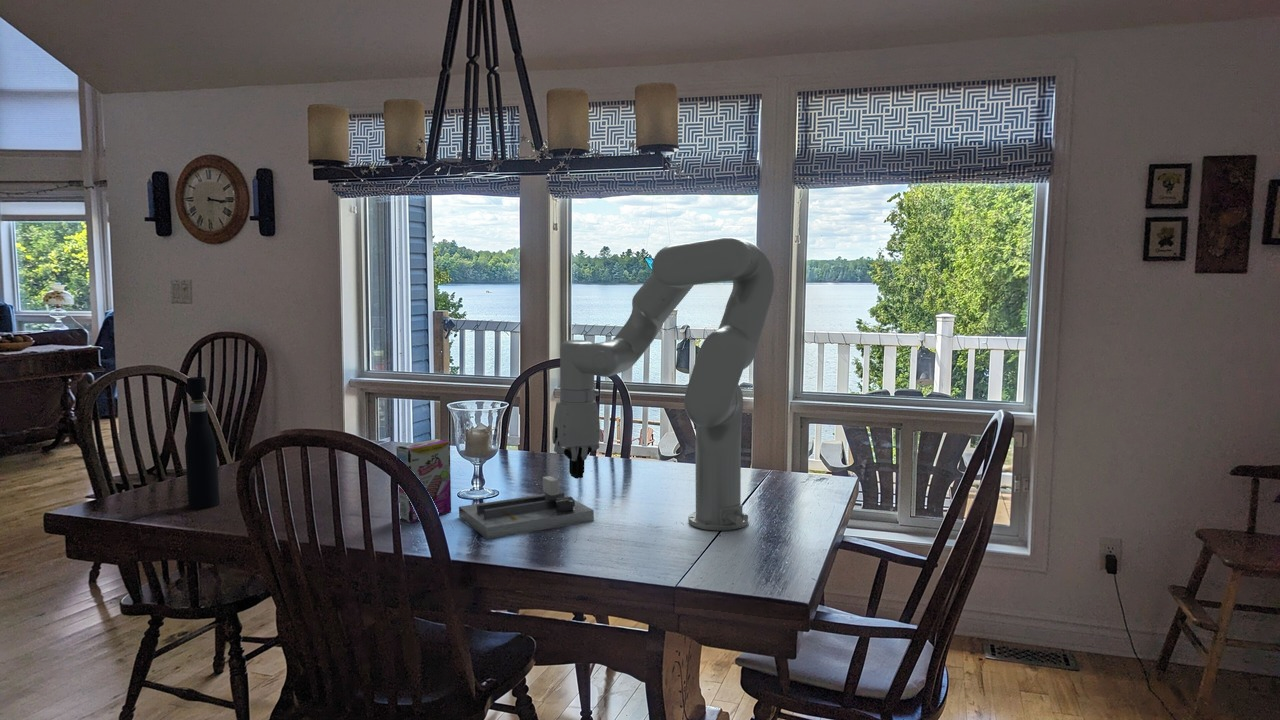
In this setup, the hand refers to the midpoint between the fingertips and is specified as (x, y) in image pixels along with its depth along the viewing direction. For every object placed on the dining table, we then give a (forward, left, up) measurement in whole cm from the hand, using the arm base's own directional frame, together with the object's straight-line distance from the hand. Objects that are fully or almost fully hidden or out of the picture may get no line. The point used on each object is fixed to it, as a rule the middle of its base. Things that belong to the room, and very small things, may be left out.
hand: (576, 476), depth 191 cm
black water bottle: (+50, +73, -8) cm, 88 cm away
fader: (0, +7, -5) cm, 8 cm away
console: (0, +13, -8) cm, 15 cm away
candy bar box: (+14, +31, -8) cm, 34 cm away
